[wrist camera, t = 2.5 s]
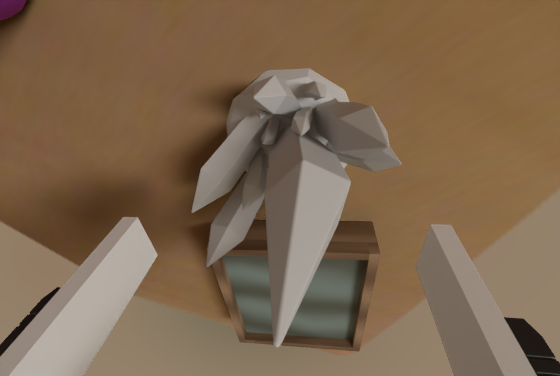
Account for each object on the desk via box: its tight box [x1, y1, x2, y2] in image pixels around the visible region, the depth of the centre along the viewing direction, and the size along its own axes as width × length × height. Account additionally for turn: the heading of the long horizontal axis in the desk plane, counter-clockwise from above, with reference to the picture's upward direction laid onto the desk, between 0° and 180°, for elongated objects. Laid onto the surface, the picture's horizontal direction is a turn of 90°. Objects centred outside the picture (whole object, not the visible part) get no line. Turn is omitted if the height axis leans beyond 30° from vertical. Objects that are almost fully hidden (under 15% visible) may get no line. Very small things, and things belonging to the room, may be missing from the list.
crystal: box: [191, 68, 401, 347], centre depth 14 cm, size 10×13×15 cm
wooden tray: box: [206, 220, 380, 351], centre depth 29 cm, size 18×15×4 cm
